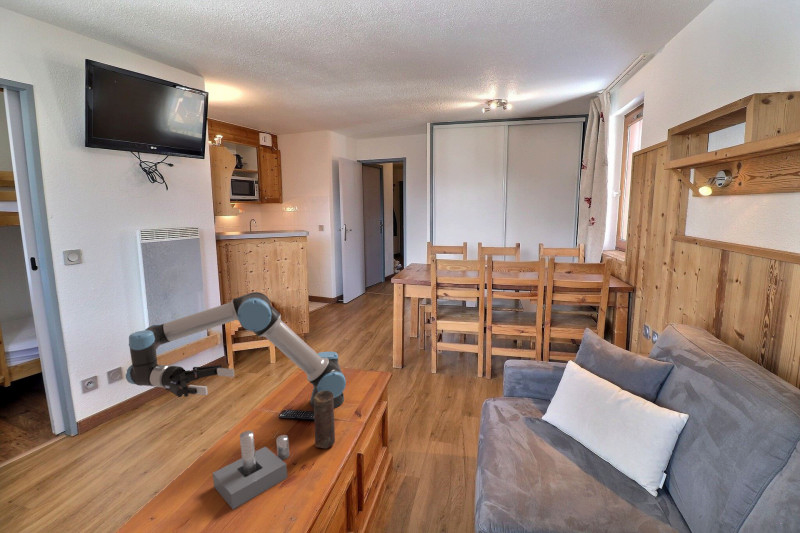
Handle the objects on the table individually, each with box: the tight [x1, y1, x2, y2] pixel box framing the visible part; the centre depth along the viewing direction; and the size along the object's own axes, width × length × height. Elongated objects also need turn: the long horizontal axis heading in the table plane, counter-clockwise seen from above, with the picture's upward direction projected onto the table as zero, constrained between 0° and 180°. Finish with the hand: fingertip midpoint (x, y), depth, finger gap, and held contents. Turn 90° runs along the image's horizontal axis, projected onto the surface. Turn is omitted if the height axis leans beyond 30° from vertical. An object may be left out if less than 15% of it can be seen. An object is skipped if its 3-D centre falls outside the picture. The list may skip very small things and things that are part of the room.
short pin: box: [275, 434, 290, 461], centre depth 136 cm, size 4×4×7 cm
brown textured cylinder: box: [313, 391, 336, 449], centre depth 141 cm, size 8×7×20 cm
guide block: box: [212, 446, 288, 510], centre depth 123 cm, size 18×14×5 cm
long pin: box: [239, 430, 257, 477], centre depth 123 cm, size 4×4×17 cm
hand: (220, 381), depth 130 cm, fingers open, 13 cm apart
